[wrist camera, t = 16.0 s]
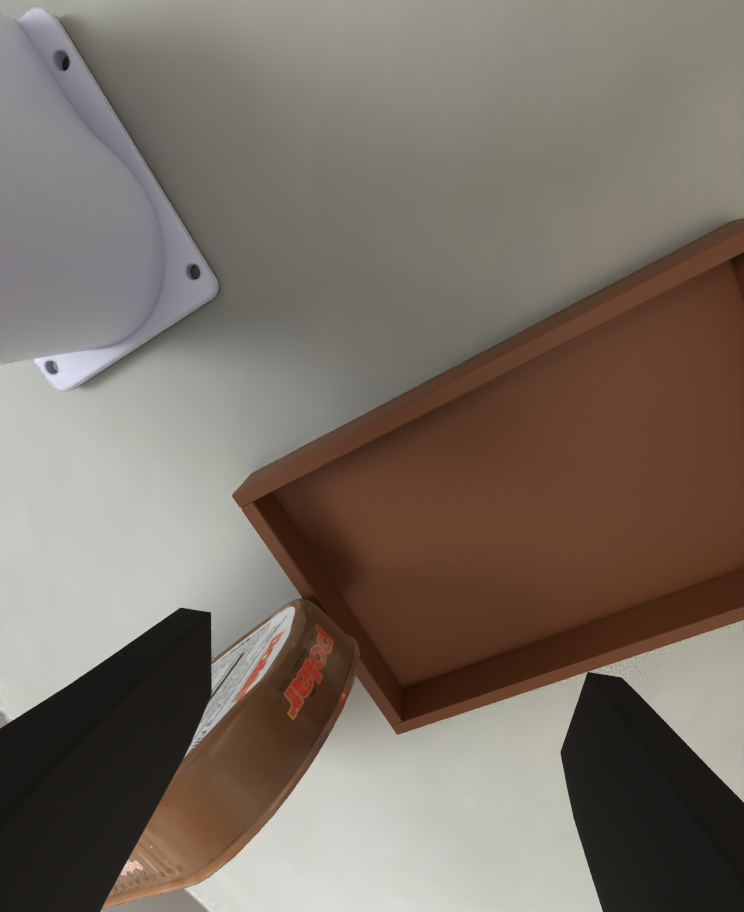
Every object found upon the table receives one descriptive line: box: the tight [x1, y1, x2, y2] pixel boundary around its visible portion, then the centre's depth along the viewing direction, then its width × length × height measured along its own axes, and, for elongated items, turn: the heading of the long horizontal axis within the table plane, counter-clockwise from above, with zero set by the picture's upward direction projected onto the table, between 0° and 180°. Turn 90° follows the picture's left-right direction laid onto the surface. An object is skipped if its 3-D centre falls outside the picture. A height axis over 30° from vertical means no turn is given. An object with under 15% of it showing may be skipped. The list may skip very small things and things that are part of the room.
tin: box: [102, 599, 360, 909], centre depth 17 cm, size 15×3×8 cm, turn 136°
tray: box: [232, 218, 744, 734], centre depth 17 cm, size 13×19×2 cm
